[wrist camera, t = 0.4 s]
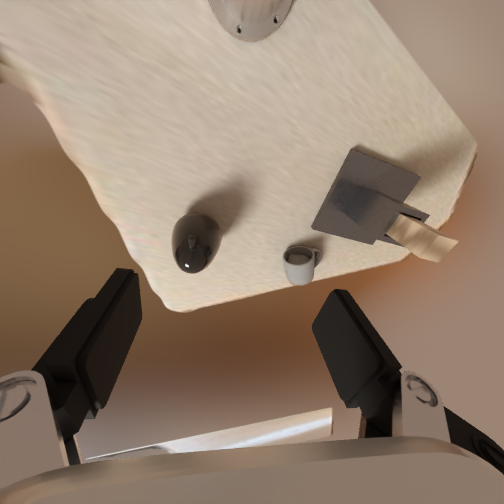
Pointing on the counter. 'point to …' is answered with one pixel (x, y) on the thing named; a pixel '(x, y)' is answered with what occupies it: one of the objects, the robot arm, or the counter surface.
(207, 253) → the pump dispenser
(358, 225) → the stand
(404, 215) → the post
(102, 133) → the counter surface
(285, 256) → the ceramic mug
